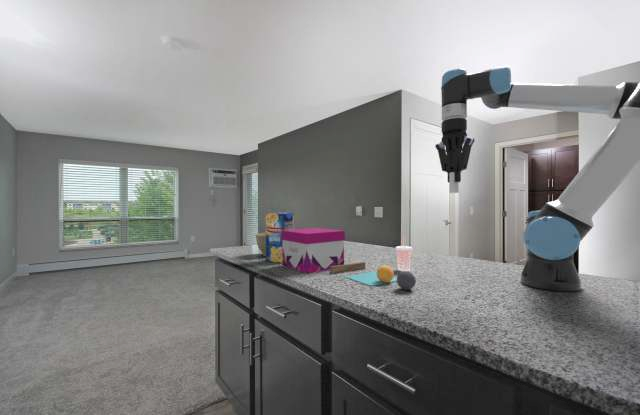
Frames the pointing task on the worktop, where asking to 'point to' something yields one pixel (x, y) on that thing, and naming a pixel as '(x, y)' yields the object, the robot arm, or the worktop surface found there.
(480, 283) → the worktop surface
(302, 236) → the decorative box
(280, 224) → the beverage box
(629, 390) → the worktop surface
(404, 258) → the beverage cup
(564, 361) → the worktop surface
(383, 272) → the orange ball
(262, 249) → the planter bowl
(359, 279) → the teal mark
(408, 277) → the gray ball
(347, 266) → the wall
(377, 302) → the worktop surface
